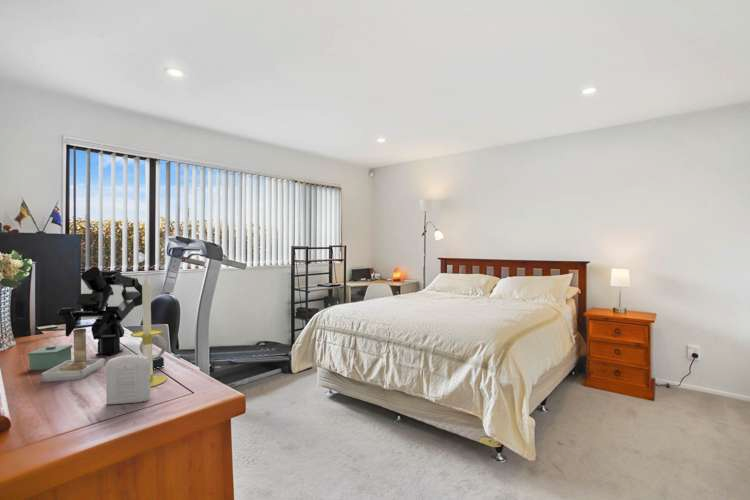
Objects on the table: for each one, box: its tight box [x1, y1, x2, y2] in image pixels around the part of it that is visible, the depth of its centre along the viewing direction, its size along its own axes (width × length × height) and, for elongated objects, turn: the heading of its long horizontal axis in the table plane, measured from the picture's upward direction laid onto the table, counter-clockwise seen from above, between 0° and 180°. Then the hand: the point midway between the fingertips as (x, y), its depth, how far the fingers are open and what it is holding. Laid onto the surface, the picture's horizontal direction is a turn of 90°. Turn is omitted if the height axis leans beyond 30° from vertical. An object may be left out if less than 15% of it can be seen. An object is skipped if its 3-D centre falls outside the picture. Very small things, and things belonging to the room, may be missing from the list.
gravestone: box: [105, 354, 151, 405], centre depth 100 cm, size 10×4×12 cm, turn 103°
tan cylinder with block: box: [60, 328, 87, 372], centre depth 123 cm, size 8×5×13 cm, turn 11°
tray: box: [40, 357, 105, 383], centre depth 122 cm, size 13×11×2 cm
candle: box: [130, 277, 168, 388], centre depth 113 cm, size 10×10×32 cm
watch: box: [139, 334, 168, 370], centre depth 127 cm, size 6×8×11 cm
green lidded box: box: [27, 344, 73, 371], centre depth 130 cm, size 9×9×7 cm
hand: (82, 335), depth 126 cm, fingers open, 9 cm apart
